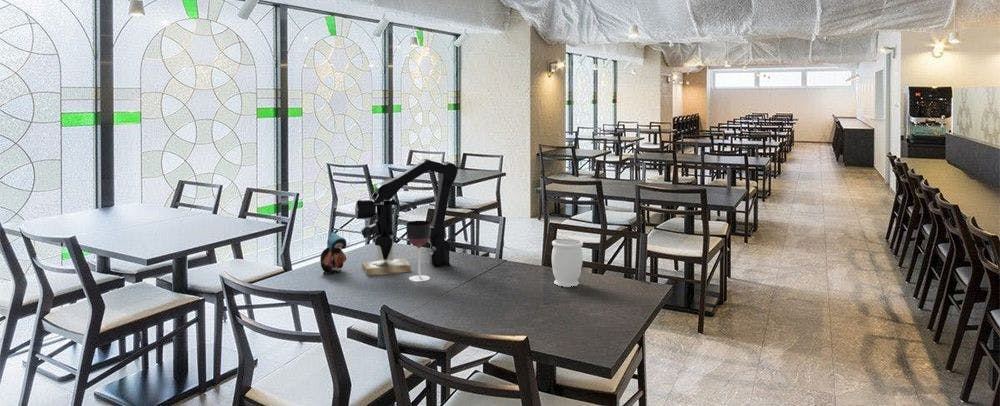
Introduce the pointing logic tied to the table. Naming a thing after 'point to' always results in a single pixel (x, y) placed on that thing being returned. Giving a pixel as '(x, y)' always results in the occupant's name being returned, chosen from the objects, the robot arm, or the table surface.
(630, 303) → the table surface
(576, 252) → the jar
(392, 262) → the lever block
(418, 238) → the wineglass
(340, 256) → the figurine
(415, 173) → the robot arm
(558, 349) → the table surface
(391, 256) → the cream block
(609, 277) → the table surface
